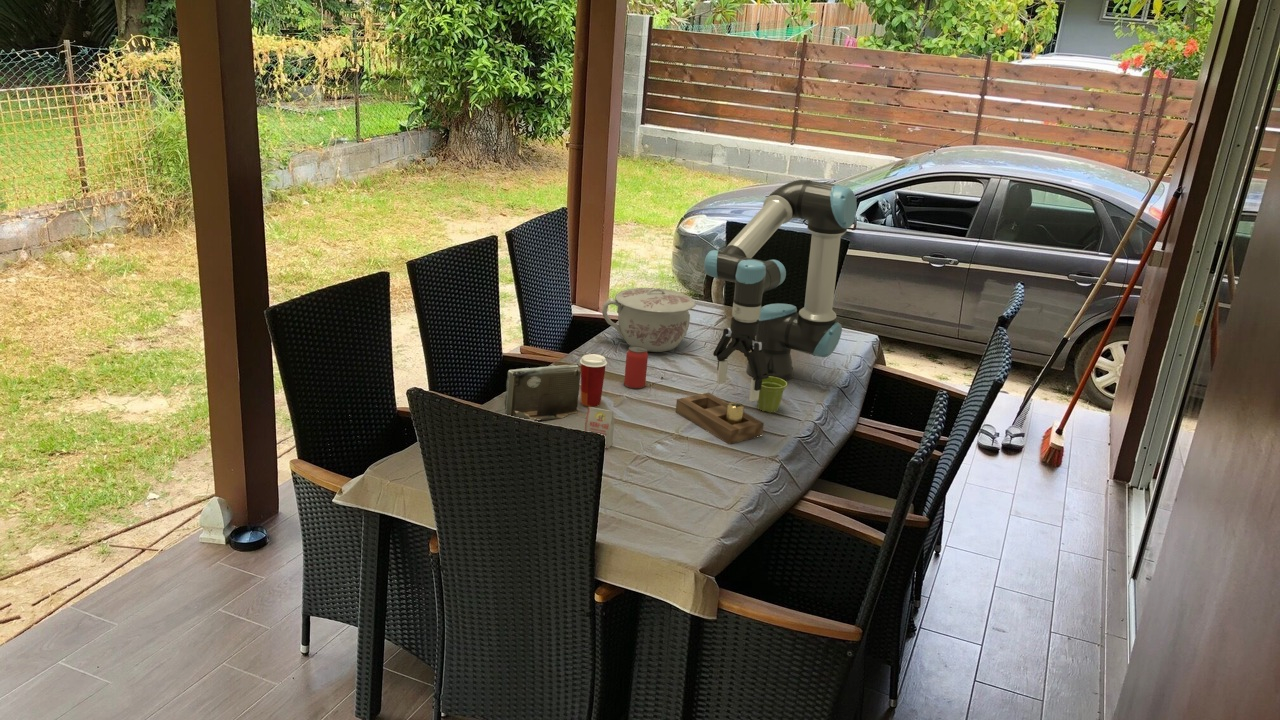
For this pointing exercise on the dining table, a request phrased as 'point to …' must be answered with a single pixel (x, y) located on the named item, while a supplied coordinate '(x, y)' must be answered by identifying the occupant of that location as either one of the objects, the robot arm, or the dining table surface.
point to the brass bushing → (734, 413)
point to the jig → (717, 418)
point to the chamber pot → (651, 317)
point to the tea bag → (600, 423)
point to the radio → (542, 392)
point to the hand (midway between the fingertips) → (737, 391)
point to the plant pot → (771, 394)
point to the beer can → (636, 367)
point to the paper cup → (592, 379)
